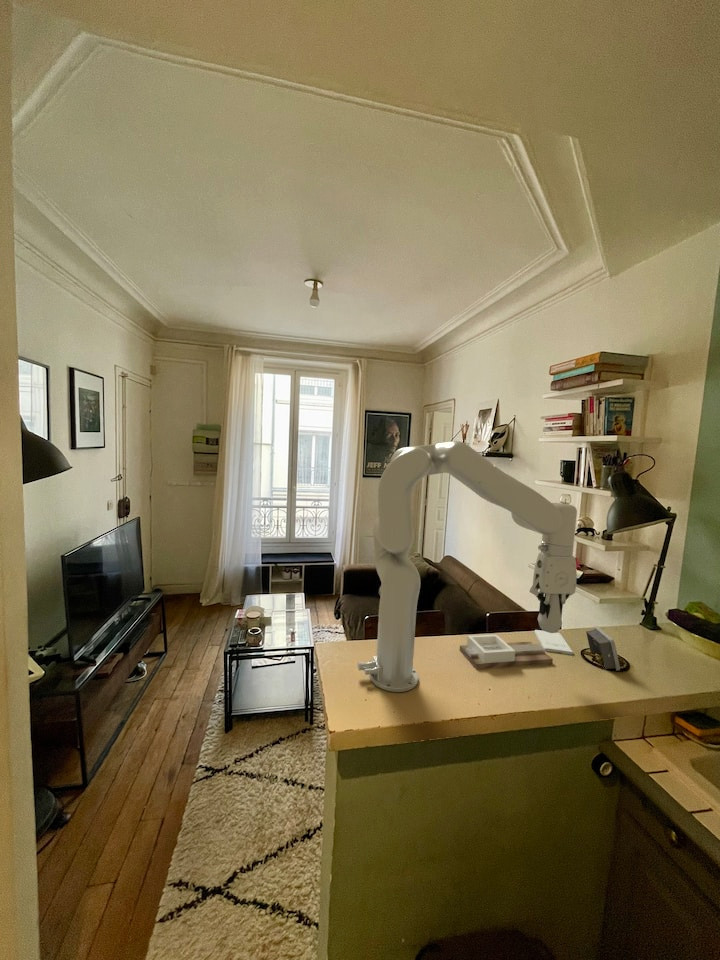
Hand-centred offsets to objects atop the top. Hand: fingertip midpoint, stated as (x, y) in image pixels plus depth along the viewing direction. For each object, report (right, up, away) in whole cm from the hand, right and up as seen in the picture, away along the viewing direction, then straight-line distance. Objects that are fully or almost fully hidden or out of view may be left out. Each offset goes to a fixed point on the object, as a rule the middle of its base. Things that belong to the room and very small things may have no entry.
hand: (550, 616), depth 100 cm
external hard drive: (+11, -17, +20) cm, 28 cm away
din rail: (-8, -14, +10) cm, 19 cm away
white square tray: (-13, -14, +9) cm, 21 cm away
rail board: (-8, -16, +10) cm, 20 cm away
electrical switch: (+20, -17, +10) cm, 28 cm away
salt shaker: (0, -4, 0) cm, 4 cm away
